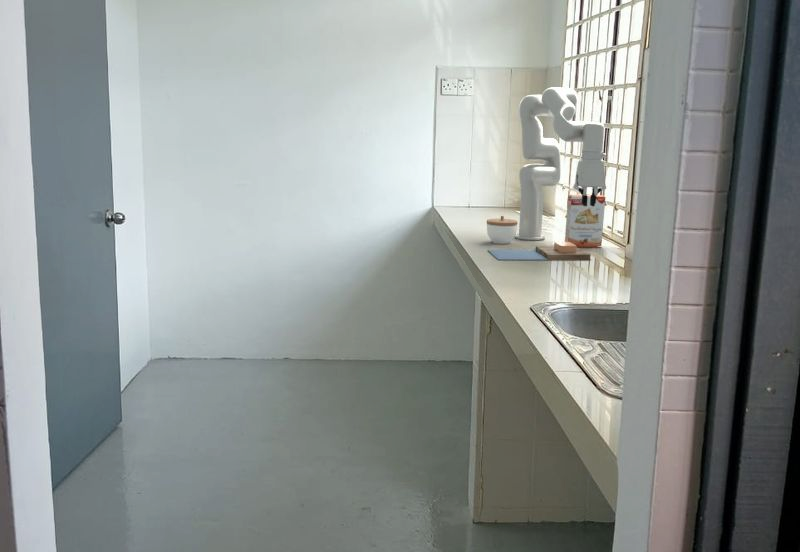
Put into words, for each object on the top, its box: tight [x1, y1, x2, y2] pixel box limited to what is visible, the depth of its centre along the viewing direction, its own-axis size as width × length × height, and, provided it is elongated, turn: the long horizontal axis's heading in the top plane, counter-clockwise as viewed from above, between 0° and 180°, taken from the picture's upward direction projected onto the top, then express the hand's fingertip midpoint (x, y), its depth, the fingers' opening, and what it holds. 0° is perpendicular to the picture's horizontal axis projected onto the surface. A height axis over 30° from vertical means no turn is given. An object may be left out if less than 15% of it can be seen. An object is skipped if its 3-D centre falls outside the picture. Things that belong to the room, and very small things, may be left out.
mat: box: [487, 249, 549, 261], centre depth 303 cm, size 20×18×1 cm
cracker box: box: [564, 194, 606, 248], centre depth 324 cm, size 14×6×21 cm, turn 92°
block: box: [553, 241, 577, 252], centre depth 304 cm, size 9×6×2 cm, turn 5°
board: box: [534, 245, 591, 261], centre depth 304 cm, size 18×16×2 cm
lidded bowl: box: [486, 215, 518, 245], centre depth 331 cm, size 13×13×11 cm
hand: (588, 205), depth 301 cm, fingers closed
